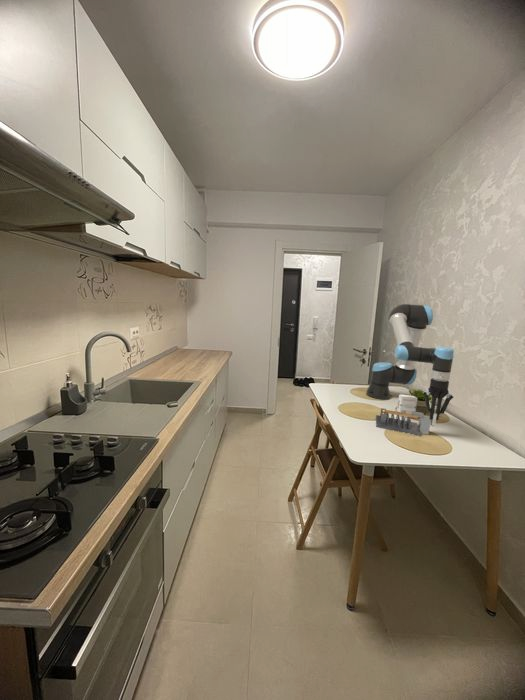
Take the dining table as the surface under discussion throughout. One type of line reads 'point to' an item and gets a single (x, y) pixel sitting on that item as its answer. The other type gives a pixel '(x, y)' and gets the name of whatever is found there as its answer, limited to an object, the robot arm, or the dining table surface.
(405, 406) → the ink box
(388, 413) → the strap
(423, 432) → the block
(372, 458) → the dining table surface
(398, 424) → the heatsink
